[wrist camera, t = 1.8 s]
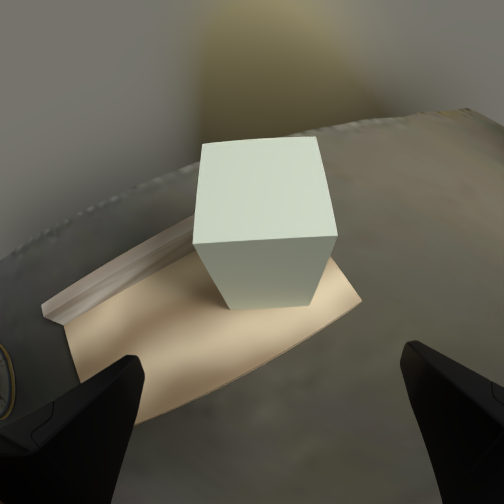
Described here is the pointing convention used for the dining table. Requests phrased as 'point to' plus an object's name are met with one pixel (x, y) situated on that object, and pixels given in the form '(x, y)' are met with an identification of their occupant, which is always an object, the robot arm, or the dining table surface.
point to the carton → (264, 220)
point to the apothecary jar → (6, 384)
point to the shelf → (181, 321)
